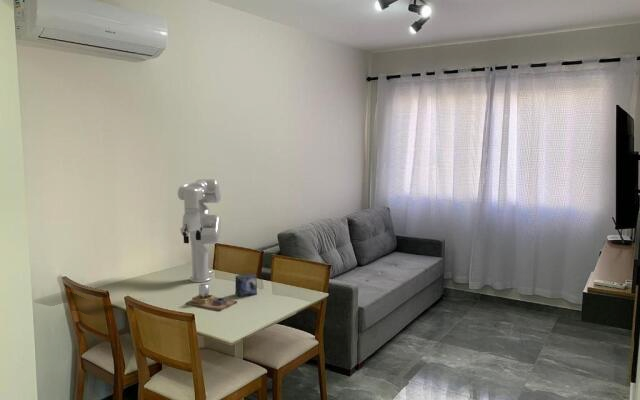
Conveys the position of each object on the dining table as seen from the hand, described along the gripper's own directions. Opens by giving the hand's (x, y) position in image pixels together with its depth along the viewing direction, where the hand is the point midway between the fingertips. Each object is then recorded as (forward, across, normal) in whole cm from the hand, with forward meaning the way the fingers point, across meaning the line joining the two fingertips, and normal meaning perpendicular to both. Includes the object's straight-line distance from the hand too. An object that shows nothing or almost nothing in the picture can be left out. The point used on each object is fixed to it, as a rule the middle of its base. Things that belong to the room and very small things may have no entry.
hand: (192, 241), depth 266 cm
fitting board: (+28, +12, +22) cm, 38 cm away
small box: (+29, -9, +29) cm, 42 cm away
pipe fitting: (+27, +12, +17) cm, 34 cm away
